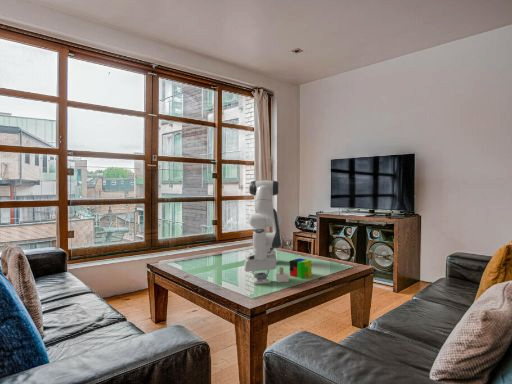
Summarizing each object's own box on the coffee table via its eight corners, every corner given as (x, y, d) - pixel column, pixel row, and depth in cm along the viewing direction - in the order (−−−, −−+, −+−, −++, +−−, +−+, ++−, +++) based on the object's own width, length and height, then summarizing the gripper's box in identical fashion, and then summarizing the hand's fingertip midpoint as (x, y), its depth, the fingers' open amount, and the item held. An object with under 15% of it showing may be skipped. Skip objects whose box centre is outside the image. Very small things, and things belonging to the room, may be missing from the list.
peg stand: (274, 279, 212) (274, 266, 212) (285, 278, 213) (285, 266, 213) (277, 282, 205) (277, 269, 205) (288, 281, 206) (288, 268, 206)
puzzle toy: (300, 272, 226) (299, 258, 226) (311, 275, 218) (311, 260, 218) (290, 275, 219) (289, 260, 219) (301, 278, 212) (301, 263, 212)
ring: (255, 277, 211) (255, 273, 211) (264, 276, 212) (264, 272, 212) (257, 279, 205) (257, 275, 205) (266, 278, 206) (266, 274, 206)
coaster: (251, 279, 212) (251, 278, 212) (266, 278, 214) (266, 277, 214) (254, 284, 203) (254, 283, 203) (270, 282, 205) (270, 281, 204)
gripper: (274, 253, 213) (275, 274, 214) (243, 255, 209) (244, 277, 210) (277, 255, 207) (278, 277, 207) (245, 257, 203) (245, 280, 203)
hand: (260, 277), depth 208 cm, fingers closed on ring, 6 cm apart
